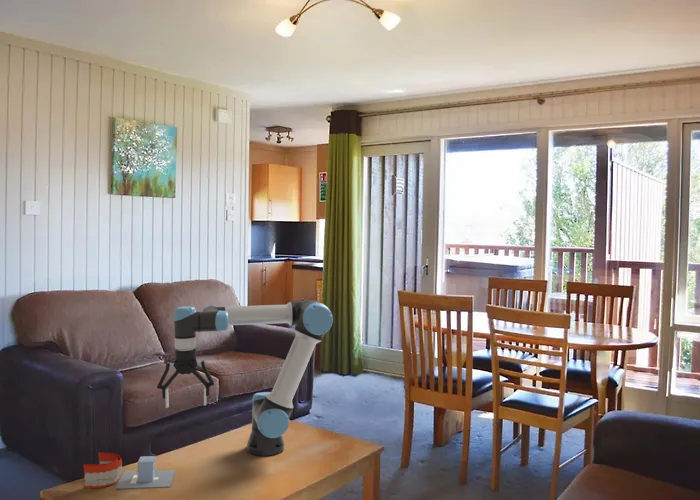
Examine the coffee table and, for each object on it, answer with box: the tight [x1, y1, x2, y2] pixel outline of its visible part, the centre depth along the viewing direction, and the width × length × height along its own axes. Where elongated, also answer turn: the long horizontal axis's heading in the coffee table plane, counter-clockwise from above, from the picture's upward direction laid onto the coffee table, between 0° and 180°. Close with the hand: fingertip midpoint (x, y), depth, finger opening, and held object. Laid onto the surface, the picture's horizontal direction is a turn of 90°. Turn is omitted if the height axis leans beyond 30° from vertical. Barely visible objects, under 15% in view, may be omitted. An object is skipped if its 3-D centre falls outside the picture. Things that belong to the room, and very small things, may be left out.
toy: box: [83, 452, 123, 489], centre depth 203 cm, size 12×10×8 cm
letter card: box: [114, 469, 176, 490], centre depth 206 cm, size 18×14×1 cm
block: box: [137, 455, 156, 482], centre depth 206 cm, size 5×5×7 cm
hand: (186, 405), depth 217 cm, fingers open, 13 cm apart
